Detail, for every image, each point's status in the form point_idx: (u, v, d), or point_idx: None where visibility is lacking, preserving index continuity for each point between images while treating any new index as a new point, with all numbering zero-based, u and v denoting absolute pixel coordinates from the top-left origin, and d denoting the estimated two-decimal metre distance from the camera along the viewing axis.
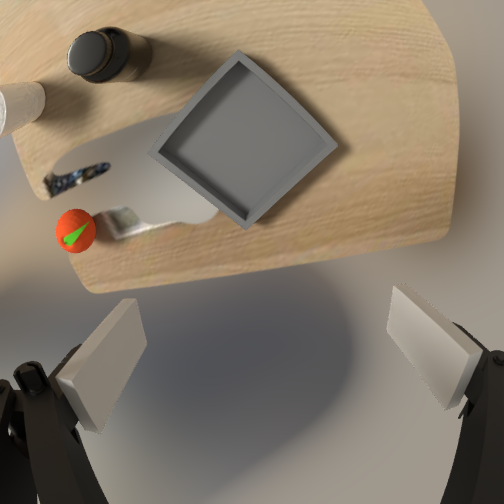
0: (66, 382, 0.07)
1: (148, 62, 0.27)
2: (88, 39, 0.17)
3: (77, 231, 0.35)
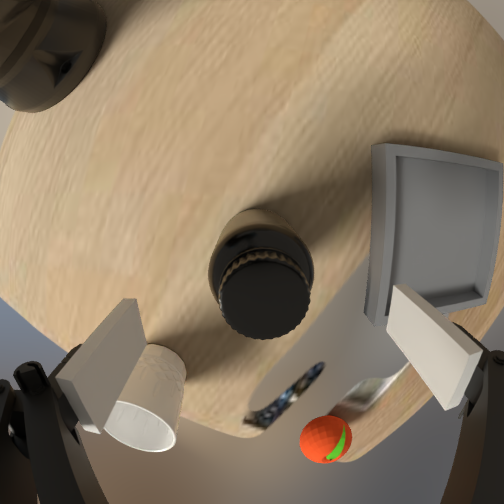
0: (66, 382, 0.07)
1: None
2: (249, 280, 0.14)
3: (340, 443, 0.26)
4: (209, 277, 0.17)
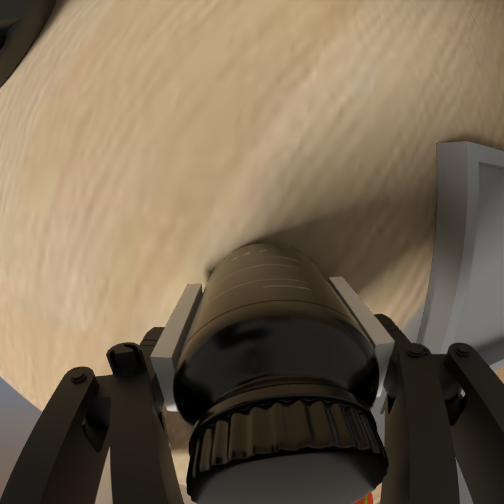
0: (163, 360, 0.08)
1: None
2: (257, 479, 0.04)
3: None
4: (175, 402, 0.08)
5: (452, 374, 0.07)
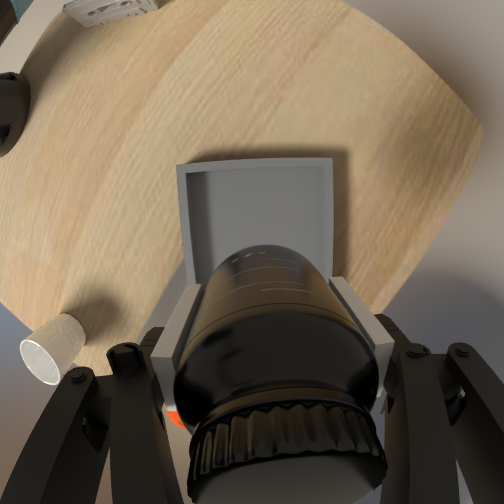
0: (163, 360, 0.08)
1: None
2: (257, 482, 0.04)
3: None
4: (175, 404, 0.08)
5: (452, 374, 0.07)
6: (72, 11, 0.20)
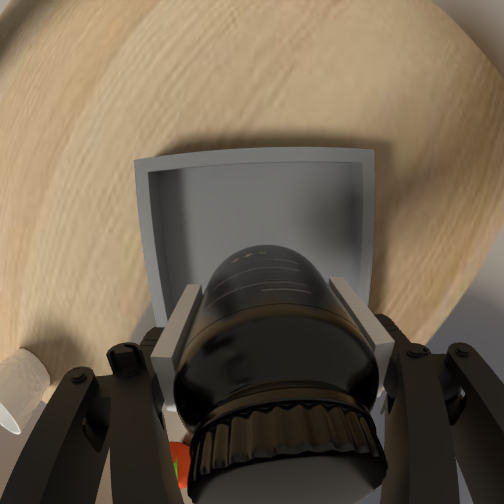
0: (163, 360, 0.08)
1: None
2: (257, 482, 0.04)
3: None
4: (175, 405, 0.08)
5: (452, 374, 0.07)
6: None
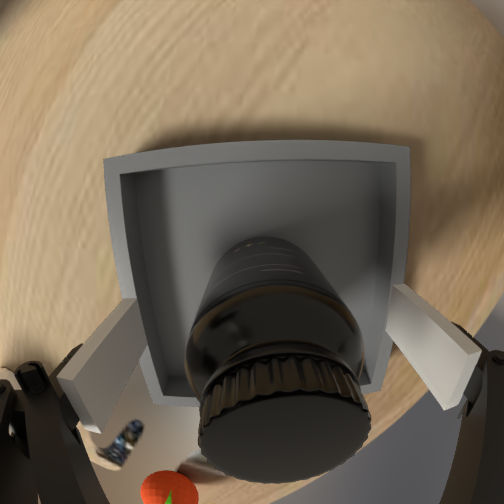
0: (67, 382, 0.07)
1: None
2: (258, 424, 0.06)
3: None
4: (186, 372, 0.09)
5: None
6: None
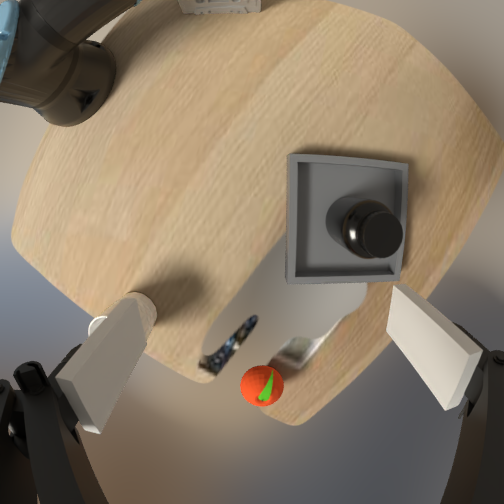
0: (66, 382, 0.07)
1: None
2: (379, 223, 0.26)
3: (268, 384, 0.38)
4: (344, 227, 0.29)
5: None
6: None
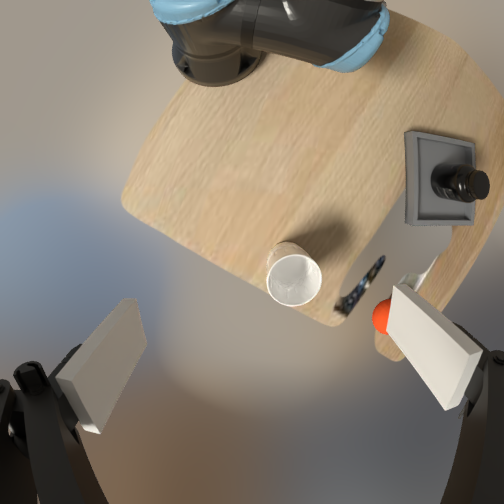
0: (66, 382, 0.07)
1: None
2: (479, 177, 0.32)
3: None
4: (457, 180, 0.36)
5: None
6: None
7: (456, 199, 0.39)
